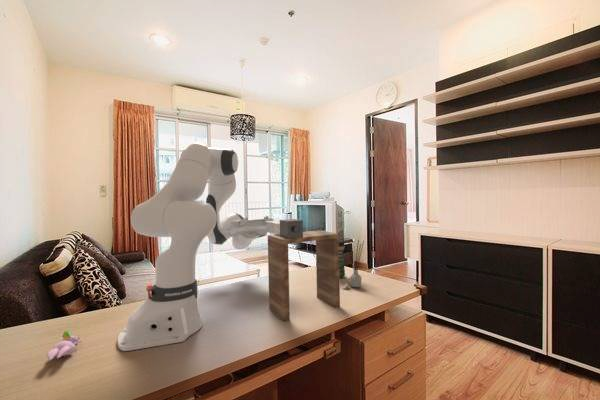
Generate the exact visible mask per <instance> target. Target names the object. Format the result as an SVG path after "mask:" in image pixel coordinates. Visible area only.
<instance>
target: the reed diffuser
mask: <svg viewBox="0 0 600 400" xmlns="http://www.w3.org/2000/svg"><path fill="white" fill-rule="evenodd" d="M359 241H360V240H359V239H358V240H357V244H359ZM364 242H365V241H364V240H363V241H362V243H360V245H356V253H357V254H356V256H355V258H356V259H355V261H356V263H355V267H354V261H353V258H352V257H353V256H352V252H351V248H350V247H351V246H350V242H347V245H348V248H349V249H348V250H349V253H350V257H351V258H350V259H351V262H352V263H351V264H352V268H353V273H352V274H350V277H349V279H350V281H349V283H350V285H348V283H347V282H346V283H344V286H343V288H344V289H350V286H351V287H354V288H360V287H362V276H361V274H359V269H358V268H359V264H360V260H361V255H362V252H363V245H364Z"/></svg>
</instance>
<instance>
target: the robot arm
mask: <svg viewBox="0 0 600 400" xmlns="http://www.w3.org/2000/svg"><path fill="white" fill-rule="evenodd" d="M238 167H239V159H238V154H237V153H236V152H235V150H233V149H230V148H227V147H224V148H221V147H220V148H219V147H210V146H207V145H206V144H204V143H200V142H195V143H191V144H189V145H188V146H187V147H186V148H185V149H184V150H183V151H182V153H181V154H180V157H179V159H178V160H177V163H176V165H175V168H174V170H173V171H172V172H171V176H170V177H169V179H168V181H167V182H166V184H164V186H163V187H162V188H161V189H160V190H158V192H156V193H155V194H154V195H153V196H152V197H150V198H149V199H147V200H146V201H144V202H142V203H139V204H137V205H136V206H135V207H134V208H133V210H132V212H131V214H130V225H131V228H132V229H133V231H134V232H135V233H136V234H138V235H143V236H145V237H151V238H170V239H171V241H170V246H169V247H168V249H167V248H166V249H165V250H164V251H162V252H161V253H159V254H158V256H157V257H156V258H155V261H154V266H155V284H154V285H153V283H150V284H147V286H146V287H145V289H146V292H147V297H148V299H146V301H144V302H143V303H142V304H141V305H139V307H137V308H136V309H135V310H133V311H132V312H131V314H130V316H129V318H128V321H127V323H126V327H125V328H124V329H123V330H122V331H121V332H120V333H119V335H118V337H117V347H118V349H119V350H121V351H123V352H128V351H134V350H140V349H141V350H142V349H147V348H153V347H154V348H155V347H159V346H165V345H170V344H177V343H181V342H185V341H186V340H187V339H188V338H189V337H190V336H191V335H193V334H195V333H196V332H199V330H200V329H201V328H202V326H203V321H202V318H201V315H200V311H199V307H198V300H197V299H198V296H199V295H198V293H199V291H198V290H199V289H198V281H197V279H196V259H197V258H196V257H197V253H198V249H199V247H200V245H201V244H202V242H203V240H204V239H205V238H206V237H207V239H208V240H209V242H210V243H212V244H213V245H217V246H218V245H221V246H222V245H223V244H224V243H226V241H227V240H229V239H231V238H232V241H231V242H232V247H234V249H236V250H245V249H247V248H248V247H249V246H250V245H251V244H252V242H253V241H254V240H256V239H259V238H262V237H266V236H268V232H266V221H275V220H274V218H272V217H269V215H266V216H265V215H264V217H263V218H259V219H258V218H255V219H254V218H253V219H249V216H248V217H247V216H246V217H244V216H243V215H241V214H240V213H239V214H238V213H237V212H231V213H230V214H227V215H226V216H225V217H223V218H221V217H220V212H221V208H222V207H223V205H224V204H225V203H226V202H227V201H228V200H230V198H231V197H232V196H233V195H234V193H235V192H236V189H237V182H236V176H235V173H236V172H237V171H238ZM208 181H209V191H208V194H207V196H206V200H205V202H204V201H199V200H198V199H199V198H201V197H202V195H203V194H204V192H205V190H206V186H207V184H208ZM220 218H221V219H220Z"/></svg>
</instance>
